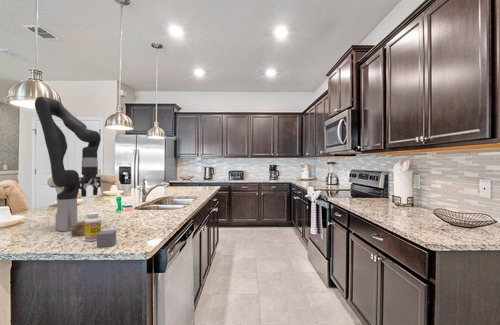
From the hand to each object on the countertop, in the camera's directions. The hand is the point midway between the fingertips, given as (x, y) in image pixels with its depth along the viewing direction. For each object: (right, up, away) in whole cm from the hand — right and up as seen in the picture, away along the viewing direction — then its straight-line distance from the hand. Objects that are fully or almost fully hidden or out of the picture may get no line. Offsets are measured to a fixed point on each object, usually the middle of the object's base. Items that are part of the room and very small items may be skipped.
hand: (89, 196), depth 136 cm
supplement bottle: (+11, -19, -15) cm, 27 cm away
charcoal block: (+22, -19, -23) cm, 37 cm away
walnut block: (0, -19, -6) cm, 20 cm away
